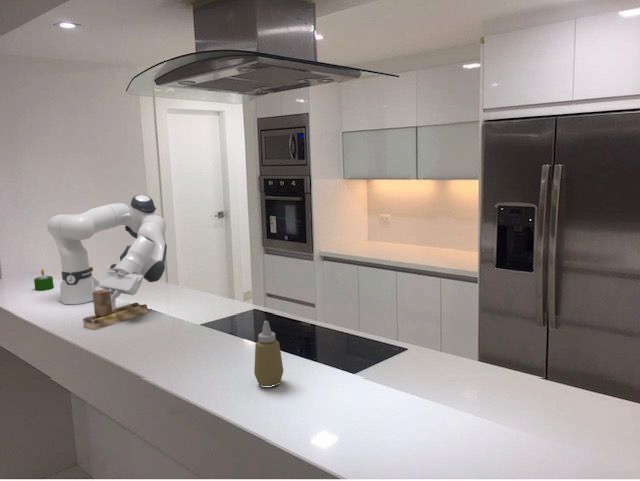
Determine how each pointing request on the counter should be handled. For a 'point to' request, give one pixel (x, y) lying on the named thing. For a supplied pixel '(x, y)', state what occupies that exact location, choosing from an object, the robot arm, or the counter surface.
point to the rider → (102, 303)
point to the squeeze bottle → (268, 358)
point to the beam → (115, 316)
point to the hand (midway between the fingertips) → (109, 300)
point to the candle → (43, 282)
